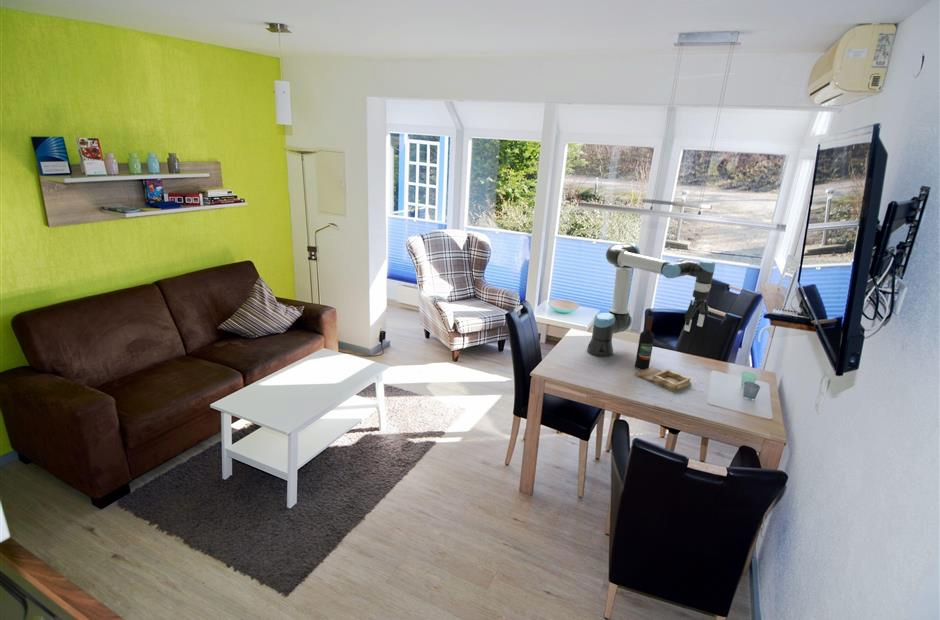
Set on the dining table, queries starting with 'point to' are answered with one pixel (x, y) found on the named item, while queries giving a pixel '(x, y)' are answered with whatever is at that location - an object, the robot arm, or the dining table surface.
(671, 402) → the dining table surface
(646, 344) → the wine bottle
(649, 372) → the board
